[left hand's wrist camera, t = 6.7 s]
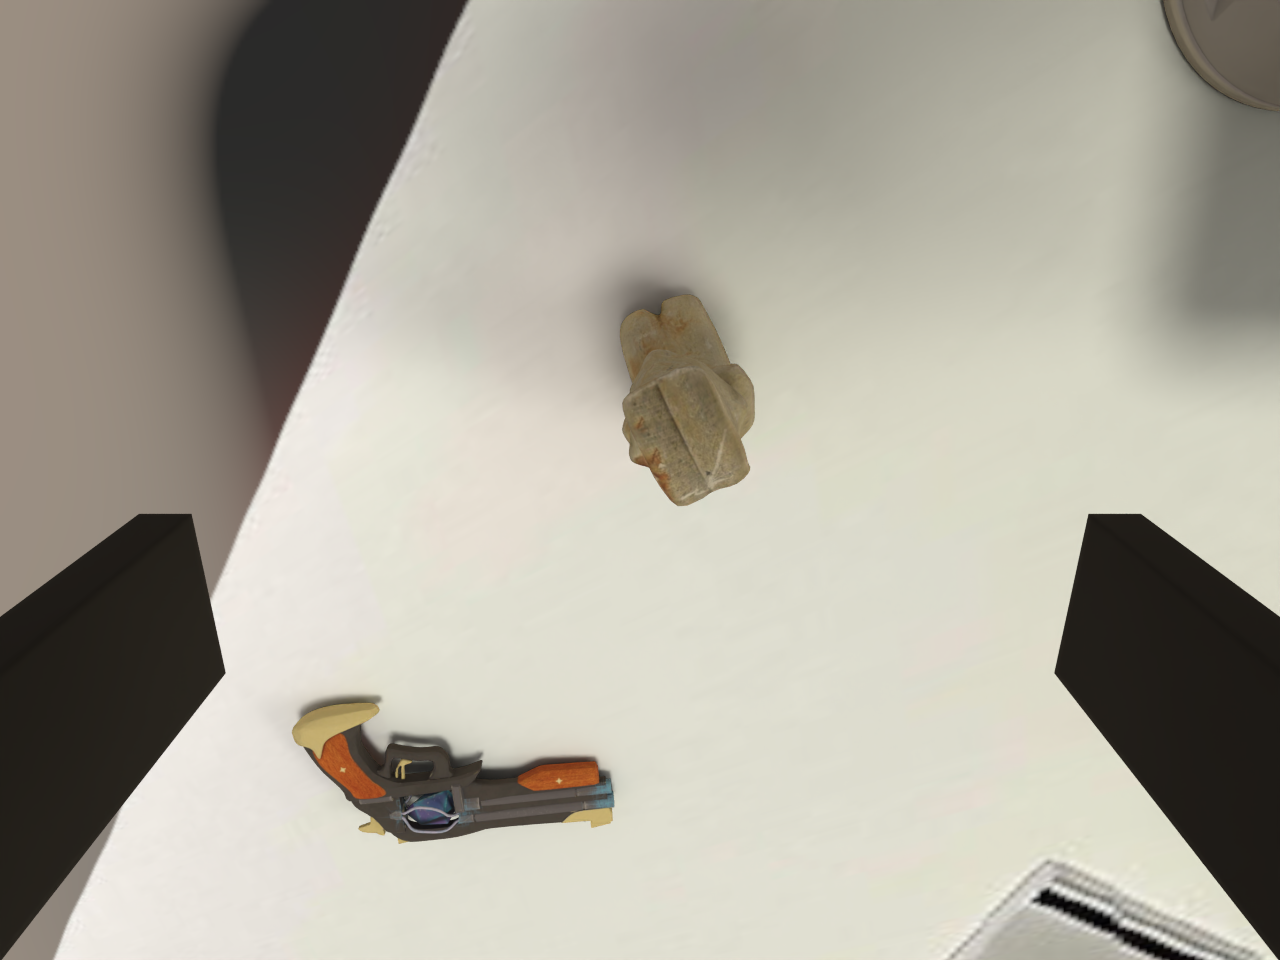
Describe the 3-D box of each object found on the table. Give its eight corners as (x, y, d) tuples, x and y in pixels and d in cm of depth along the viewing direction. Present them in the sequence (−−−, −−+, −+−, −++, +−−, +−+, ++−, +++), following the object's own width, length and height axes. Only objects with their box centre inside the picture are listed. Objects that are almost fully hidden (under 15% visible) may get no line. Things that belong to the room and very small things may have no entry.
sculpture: (709, 276, 43) (743, 341, 29) (754, 404, 45) (805, 521, 31) (602, 317, 44) (585, 399, 30) (652, 441, 46) (657, 571, 32)
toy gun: (282, 725, 50) (312, 868, 53) (602, 693, 51) (616, 835, 53) (297, 702, 53) (325, 839, 55) (601, 671, 53) (615, 808, 56)
